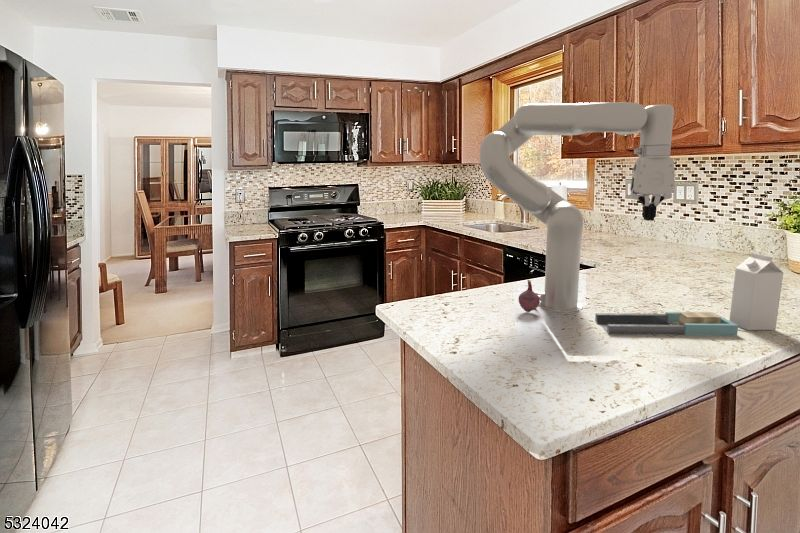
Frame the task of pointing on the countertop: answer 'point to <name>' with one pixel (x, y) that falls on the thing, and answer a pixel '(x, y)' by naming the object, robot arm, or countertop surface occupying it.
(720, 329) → the tray
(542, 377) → the countertop surface
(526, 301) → the vegetable
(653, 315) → the rail
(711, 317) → the chip
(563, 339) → the countertop surface
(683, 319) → the chip
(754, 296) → the milk carton
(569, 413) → the countertop surface
